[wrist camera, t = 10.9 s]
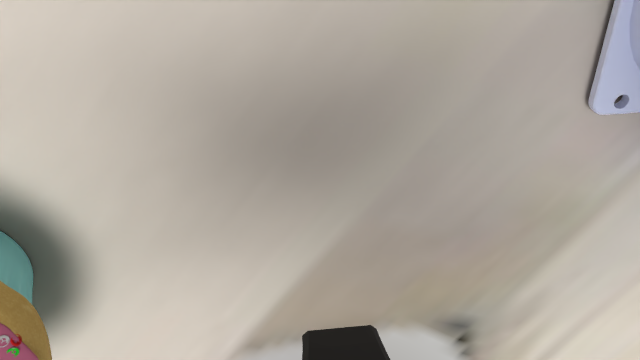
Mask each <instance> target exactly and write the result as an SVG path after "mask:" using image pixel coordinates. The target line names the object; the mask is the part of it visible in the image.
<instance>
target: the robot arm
mask: <svg viewBox="0 0 640 360" xmlns="http://www.w3.org/2000/svg"><path fill="white" fill-rule="evenodd" d="M621 95H623V97H622V99H621V100H620V101H619V102H618V103H615V104H614V102H615V100H616V98H618V97H619V96H621ZM589 106H590V108H591V109H592V110H593V111H594V112H595V113H597V114H599V115H611V114H626V113H640V0H615V1H614V5H613V9H612V13H611V16H610V20H609V24H608V28H607V32H606V35H605V39H604V43H603V47H602V51H601V55H600V58H599V62H598V66H597V70H596V74H595V77H594V81H593V85H592V89H591V93H590V97H589ZM302 340H303V355H302V360H390V358H389V356H388V354H387V352H386V350H385V348H384V346H383V344H382V341H381V339H380V337H379V335H378V332H377V330H376V328H374V327H373V326H371V325H367V326H356V327H345V328H335V329H324V330H313V331H307V332H306V333H305V334H304V335H303V336H302Z"/></svg>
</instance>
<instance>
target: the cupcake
mask: <svg viewBox="0 0 640 360" xmlns="http://www.w3.org/2000/svg"><path fill="white" fill-rule="evenodd" d="M32 290H33V269H32V266H31V263H30V260H29V258H28V257H27V255H26V253H25V252H24V251H23V249H22V248H21V247H20V246H19V245H18V244H17V243H16V242H15V241H14V240H13V239H11V238H10V237H9V236H7V235H6V234H5V233H3V232H1V231H0V360H52V356H51V350H50V344H49V339H48V335H47V332H46V329H45V327H44V324H43V322H42V320H41V318H40V316H39V314H38V312H37V311H36V309H35V308H34V307H33V305H32Z"/></svg>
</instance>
